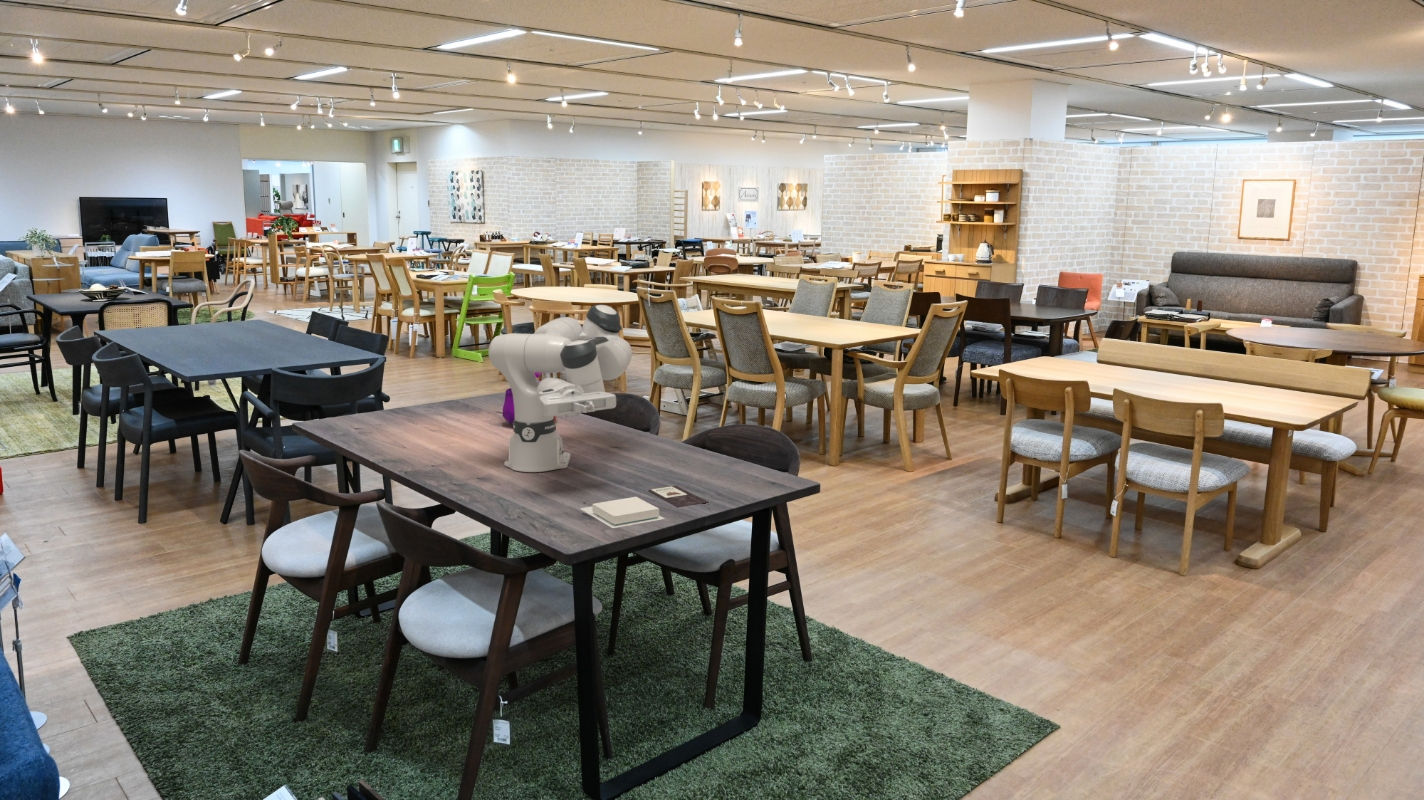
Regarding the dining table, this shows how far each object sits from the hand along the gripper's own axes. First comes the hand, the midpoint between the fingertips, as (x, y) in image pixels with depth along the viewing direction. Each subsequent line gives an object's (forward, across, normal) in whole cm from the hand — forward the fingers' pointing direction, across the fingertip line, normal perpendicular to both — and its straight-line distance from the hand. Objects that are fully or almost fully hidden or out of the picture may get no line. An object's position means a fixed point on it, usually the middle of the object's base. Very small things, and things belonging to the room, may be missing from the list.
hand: (589, 409), depth 250 cm
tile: (+14, 0, -22) cm, 26 cm away
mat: (+17, 0, -24) cm, 29 cm away
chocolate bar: (+11, -19, -25) cm, 33 cm away
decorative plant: (-96, -18, -25) cm, 100 cm away
